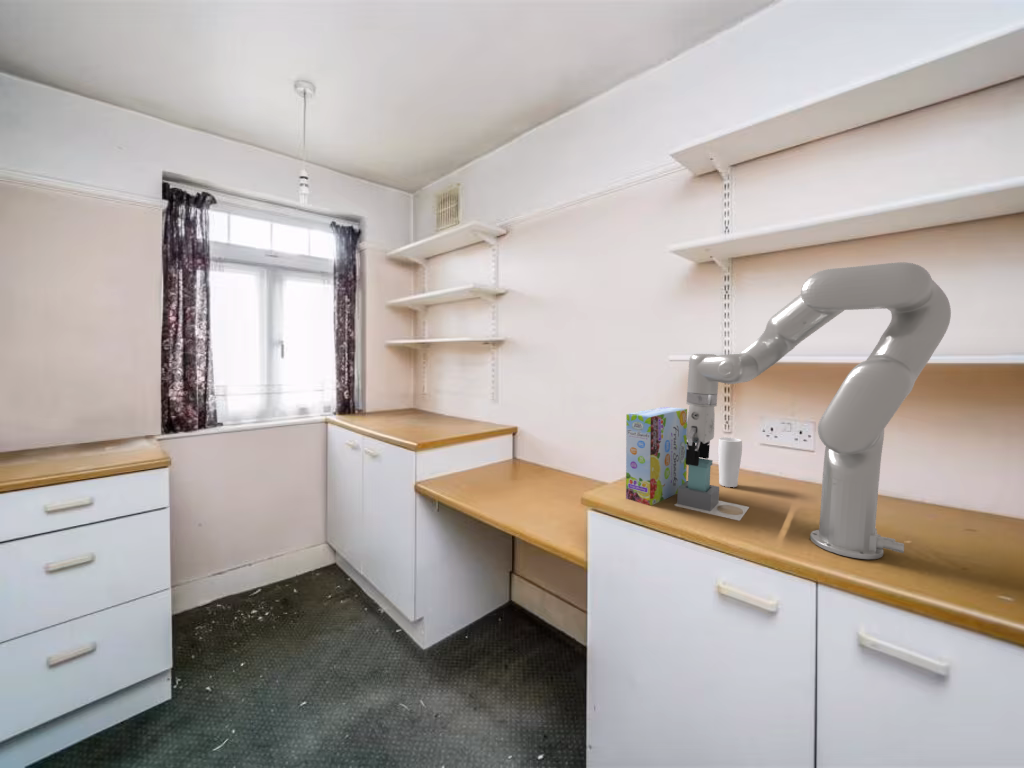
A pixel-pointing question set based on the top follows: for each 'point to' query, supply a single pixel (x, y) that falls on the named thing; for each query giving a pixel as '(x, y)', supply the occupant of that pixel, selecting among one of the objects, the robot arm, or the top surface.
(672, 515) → the top surface
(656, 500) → the snack box
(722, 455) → the drinking glass
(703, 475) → the plug
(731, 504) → the board
